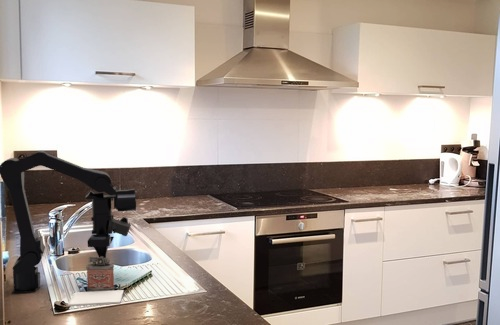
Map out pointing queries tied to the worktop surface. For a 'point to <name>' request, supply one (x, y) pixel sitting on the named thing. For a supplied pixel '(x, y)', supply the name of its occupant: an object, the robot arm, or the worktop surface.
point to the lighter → (100, 274)
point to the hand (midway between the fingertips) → (103, 261)
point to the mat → (96, 298)
